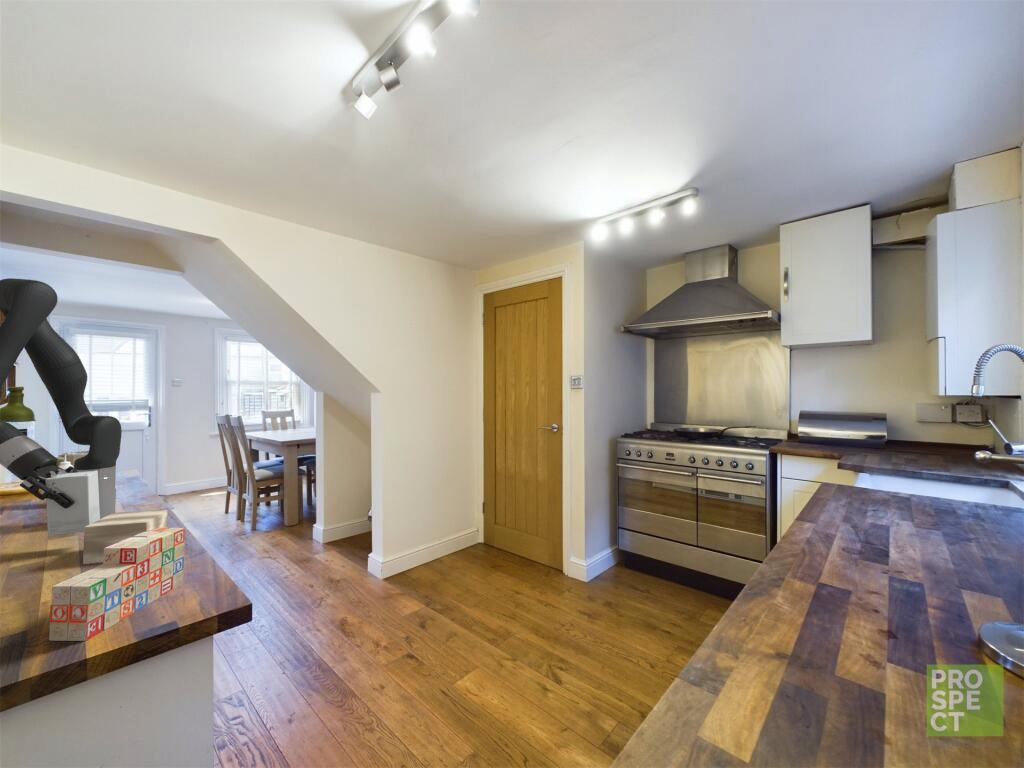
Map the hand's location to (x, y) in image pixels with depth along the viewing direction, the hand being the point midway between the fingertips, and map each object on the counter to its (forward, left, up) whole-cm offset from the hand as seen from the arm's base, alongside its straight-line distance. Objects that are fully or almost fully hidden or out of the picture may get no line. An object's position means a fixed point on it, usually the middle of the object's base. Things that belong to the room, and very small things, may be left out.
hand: (81, 501), depth 107 cm
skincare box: (0, -2, -8) cm, 8 cm away
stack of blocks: (+36, +29, -13) cm, 48 cm away
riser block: (+4, +13, -13) cm, 18 cm away
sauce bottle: (-50, -34, -13) cm, 62 cm away
